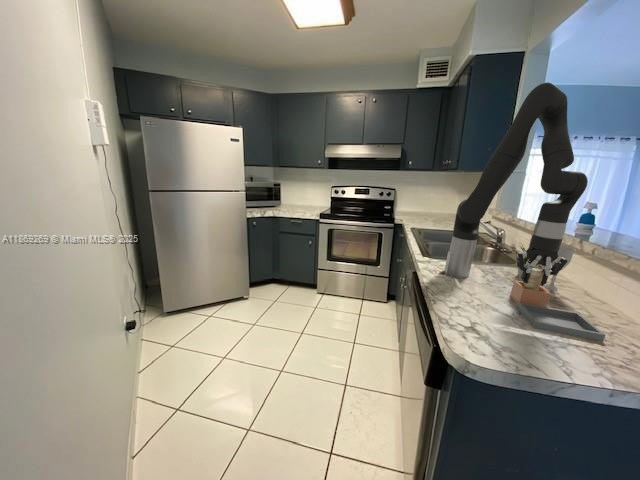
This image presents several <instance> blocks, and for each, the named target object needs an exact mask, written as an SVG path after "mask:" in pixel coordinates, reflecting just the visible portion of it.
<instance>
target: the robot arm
mask: <svg viewBox="0 0 640 480" xmlns="http://www.w3.org/2000/svg"><path fill="white" fill-rule="evenodd" d="M537 119H538V120H539V121H540V123H541V125H542V127H543V128H542V129H543V137H542V140H541V145H540V147H541V148H540V151H541V157H542V161H543V168H542V174H541V178H540V187H541V189H542V191H543V192H544V193H546V194H550V195H559V196H558V197H557V198H556V199H555V200H553V201H547V202H543V204H542V205H541V207H540V211H539V212H538V213H539V214H538V217H537V220H536V222H535V225H534V227H533V230H532V233H531V238H530V240H529V244H528V248H527V250H526V249H525V251H526V252H525V251H524V252H523V251H515V253H516V254H515V258H516V267H517V268H519V269H520V270H522V271H523V273H522V277H521V276H520V277H521V279H520V281H522V282H524V283H528V279H529V276H530V272H531V270H532V269H533V268H534V267H535V266H536V265H540V266H541V270H542V271H544V275H543V278H542V281H541V284H540V286H542V287H544V286H545V284H547V282H548V278H549V277H550V276H553V275H558V274H559V273H560V270H561V269H562V268H563V267H564V265H565V264H566V263H567V260H566V259H564V258H562V257H559V256H558V251H559V249H560V246H562V242H563V239H564V236H565V233H566V228H567V223H568V220H569V217H570V213H571V211H572V209H573V208H574V207H575V205H576V204H577V202H578V201H579V199H580V198H581V197H582V195H583V194H584V193H585V191H586V190H587V186H588V181H589V180H588V177H587V174H585V173H584V172H581V171H572V170H571V171H569V170H563V169H566V168H568V167H570V166H571V165H572V164H573V163H574V161H575V156H574V155H575V154H574V151H573V147H572V142H571V138H570V134H569V127H568V96H567V93H565V92H564V91H563V90H561V88H559V87H558V86H556V84H554V83H552V82H548V81H547V82H542V83H540V84H538V85H537V86H535V87H534V88H533V89H532V90H530V92H529V93H528V94H527V96H526V97H525V98H524V101H523V102H522V104H521V106H520V108H519V109H518V111H517V114H516V115H515V117H514V119H513V121H512V123H511V125H510V126H509V128H508V130H507V131H506V133H505V135H504V136H503V138H502V140H501V141H500V143H499V144H498V145H497V147H496V148H495V150H494V152H493V153H492V154H491V156H490V158H489V160H488V162H487V163H486V165H485V167H484V169H483V171H482V173H481V176H480V178H479V180H478V182H477V184H476V186H475V187H474V189H473V191H472V192H471V193H470V194H469V196H468V197H467V199H464V200H462V201H461V202H460V203H459V205H458V206H457V210H456V214H455V220H454V224H453V233H452V237H451V244H450V247H449V250H448V251H447V257H446V260H445V266H444V270H443V271H444V274H445V276H446V277H451V278H453V279H458V278H463V279H466V278H469V277H470V275H471V274H470V273H471V272H470V271H471V269H472V264H473V261H474V256H475V252H476V246H477V242H478V240H479V239H478V238H479V232H480V230H479V229H480V228H479V227H480V223H481V220H482V219H483V218H484V216H485V215H486V213H487V211H488V209H489V207H490V205H491V203H492V202H493V199H495V197H496V196H497V194H498V192H499V191H500V190H501V188H502V187H503V186H504V184H506V182H507V181H508V179H509V178H510V177H511V175H512V174H513V173H514V172H515V170H516V169H517V167H518V166H519V164H520V163H521V161H522V160H523V158H524V156H525V153H526V149H527V145H528V141H529V136H530V132H531V129H532V128H533V126H534V124H535V123H536V121H537ZM526 255H527V256H526ZM525 256H526V258H527V257H528V261H527V262H526V265H525V266H524V260H523V259H524V258H525ZM554 260H556V261H555V262H556V263H555V264H554V265H553V266H552V265H551V262H553V261H554ZM561 271H562V270H561Z"/></svg>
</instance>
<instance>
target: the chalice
mask: <svg viewBox="0 0 640 480" xmlns="http://www.w3.org/2000/svg"><path fill="white" fill-rule="evenodd" d="M576 251H577V249H576V248H573V247H570V246H566V245H561V246H560V249H559V251H558V256H559V257H562V258H564V259H566V260H567V263H566V264H565V265H564V267H563V268H562V269H561V270H560V271H562V270H563V269H565V268H566V267H567V266H569V264H570V263H571V261H572V258H573V255H574V253H575V252H576ZM555 261H556V260H554V261H553V262H551V267H552V266H553V265H554V264H555V263H556V262H555ZM560 271H559V272H560ZM557 276H558V274H557V275H552V277H551V278H550V282H549V283H546V284H544V286H543V288H545V289H546V290H548V291H549V290H550V291H554V292H555V291H559V289H558V286H557V285H555V282H556V281H557Z"/></svg>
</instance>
